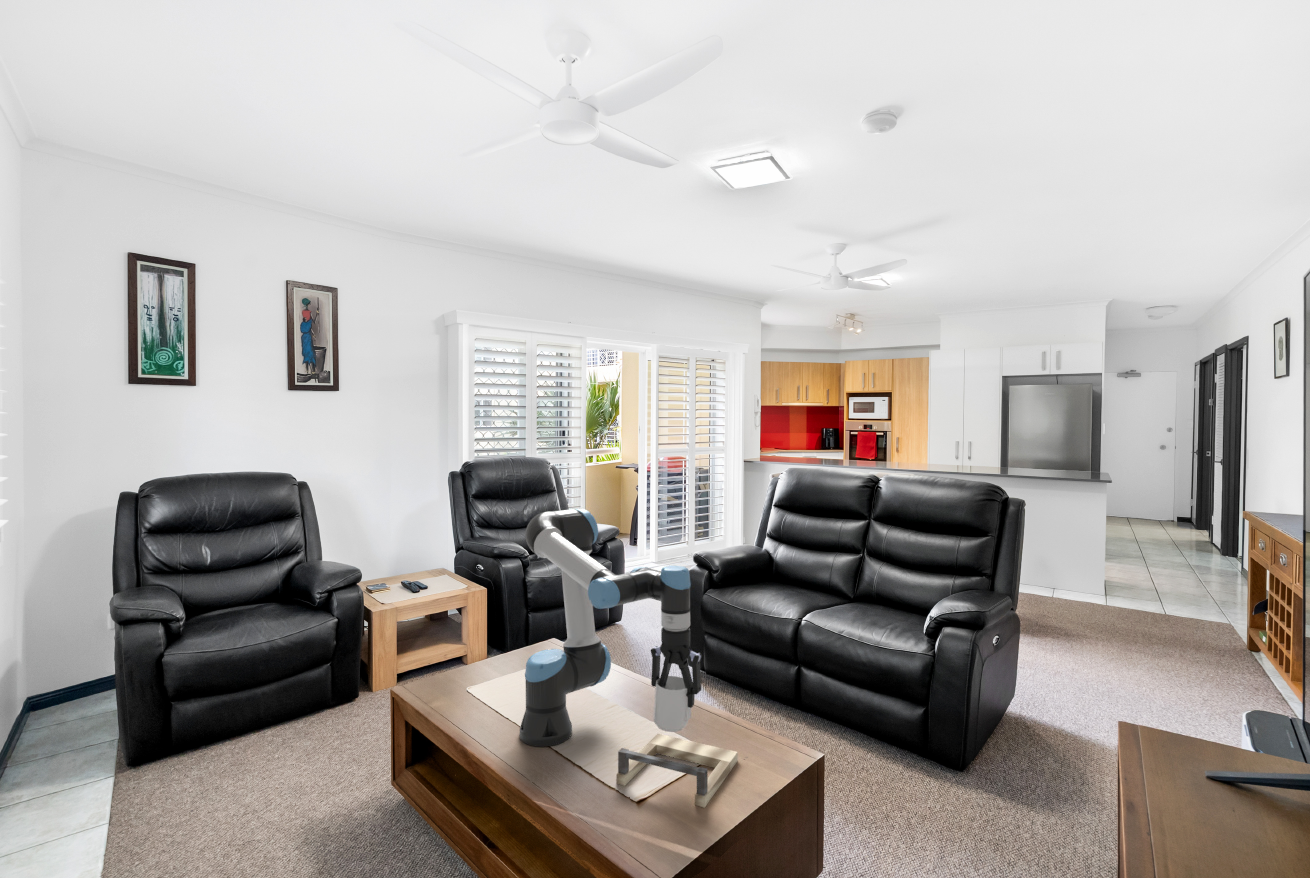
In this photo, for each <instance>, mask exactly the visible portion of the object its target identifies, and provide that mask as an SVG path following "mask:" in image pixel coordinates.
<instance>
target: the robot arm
mask: <svg viewBox="0 0 1310 878" xmlns="http://www.w3.org/2000/svg"><path fill="white" fill-rule="evenodd" d="M598 536H599V527H598V524H597V521H596V519H595V517H594V516H593V514H592V513H591V512H590V511H589V510H588V509H585V508H571V509H562V510H552V511H544V512H543V511H542V512H540V513H538V514H536V515H535V516H534V517H532V519H530V520H529V522H528V524H527V526H526V529H525V540H526V544H527V546H528V547H529V550H531V551H532V553H534V554H535V555H536V556H537V557H539V558H541V559H547V560H548V561H550V562H551V564H552V563H553V564H554V565H555V566H556V567H557V568H559V569H560V570H561V580H562V581H561V582H562V592H563V602H564V614H565V615H564V616H565V624H566V625H565V627H566V634H567V635H566V636H567V638H566V639H565V641H563V643H562V646H563V650H562V649H560V648H551V649H544V650H540V651H537V652H535V653H534V654H532V655H531V656H529V657H528V659H527V661H526V663H525V671H524V672H525V673H524V677H525V711H524V714H523V717H522V720H521V724H520V726H519V739H520V741H521V742H523V744H526V745H529V746H532V747H541V748H542V747H551V746H556V745H559V743H560V744H562V743H564V742H566V741H567V740H569V739H570V738H571V736H572V735H571V734H573V724H572V723H573V722H572V721H571V718H570V715H569V712H568V708H567V695H568V694H571V693H575V692H577V691H580V690H583V689H586V688H589V687H594V686H596V685H598V684H600V683H603V682H604V681H605V680H606V679H607V677H608V676H609V674H610V672H611V665H612V658H611V653H610V651H609V649H608V647H607V646H606V645H605V644H604V643H602V639H601V637H599V635H597V634H596V627H595V617H594V615H595V614H594V608H596V609H599V610H602V609H611V608H614V607H617V606H621V605H625V604H629V603H635V602H638V601H643V600H646V599H647V600H648V599H651V600H656V601H660V605H661V606H660V613H661V615H660V616H661V617H660V619H661V620H660V621H661V623H660V624H661V626H662V627H661V630H660V631H661V632H660V634H661V635H660V639H661V640H660V641H661V644H660V646H657V645H655V646H653V647H652V648H650V654H651V658H652V660H651V661H652V662H651V679H650V680H651V683H650V684H651V686H652V687H653V688H656V681H657V679H659V678H660V680H659V683H658V685H659V686H660V687H662V688H665V686H666V682H667V679H668V676H670V670H671V668H672V665H673V664H674V665H676V666H678V669H679V670H680V673H681V678H683V681H684V684H685V688H687V694H686V696H687V697H686V712H685V721H688V722H689V720H690V719H691V718H692V708H693V707H694V706H695V700H694V694H695V695H698V694H699V693H700V692H701V691H702V677H701V672H702V671H701V659H702V657H703V654H702V653H701V652H698V653H697V652H695V651H693V650H692V647H691V628H690V626H691V585H692V583H691V577H690V576H691V575H690V570H689V568H688V567H686V566H684V565H683V566H682V565H667V566H664V567H662V568H661V571H660V570H657V569H653V568H650V567H647V566H646V567H642V566H637V567H635V568H633V569H632V570H631V571H630V572H626V573H622V574H616V573H614V572H612V571H611V570H610V569H608V568H607V567H605V566H604V565H603V564H602V563H601V562H599V561H597V560H596V559H594V558H593V557H592V556H590V554H591V553H592V552H593V546H592V545H594V544H595V543H596V542H597V539H598ZM661 654H662V655H663V658H664V660H663V664H662V665H663V667H662V670H661ZM689 657H690V661H691V662H692V663H691V670H692V671H691V670H690V668H689V665H690V664H689V660H688V659H689ZM691 673H692V675H691ZM665 689H668V688H667V687H666V688H665ZM570 735H571V736H570ZM569 737H570V738H569ZM568 738H569V739H568ZM565 740H566V741H565Z"/></svg>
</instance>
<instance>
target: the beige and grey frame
mask: <svg viewBox="0 0 1310 878" xmlns="http://www.w3.org/2000/svg"><path fill="white" fill-rule="evenodd" d="M656 753H659V754H658V755H660V754H662V756H664V755H666V757H669V756H670V757H669V758H673V757H674V759H677V760H681V759H682V760H681V761H685V760H687V761H686V762H689V761H691V762H690V763H693V762H695V763H694V764H697V763H699V764H698V765H701V766H706V767H709V768H714V769H713V770H712V771H711V773H710V774H709V773H708V768H705V767H697V766H695V765H694V766H693V765H690V764H686V763H682V762H678V761H673V760H670V759H665V758H662V757H657V756H654V755H657V754H656ZM738 758H739V756H738V751H735V750H731V749H727V748H722V747H718V746H714V745H710V744H704V743H701V742H696V741H692V740H687V739H682V738H680V737H674V736H671V735H666V734H662V733H657V734H655V736H654V737H652V738H651V739H650V740H649V741H648V742H647V743H646V744H645V745H644V746H643V747H642V748H641V749H640V750H639V751H633V750H630V749H627V748H625V747H624V748H620V749H619V750H618V752H617V765H618V766H617V772H616V776H615V778H616V779H615V781H616V784H617V785H620V786H624V787H625V786H626V785H628V783H629V782H630V781H631V780H633V778H635V776H636V775H637V774H638V773H639V772H640V771H641V770H642V769H643V768H644V767H645V766H646V765H650V766H656V767H659V768H662V769H668V770H669V771H670V770H671V771H675V772H680V773H682V774H687V775H690V776H695V777H696V793H694V806H696V807H701V808H704V809H706V806H707V805H708V804H709V802H710V801H711V799H712V798H713V797H714V796H715V794H716V793H717V791H718V790H719V788H720V787H721V785H722V784H723V783H724V781H725V779H726V778H727V777H728V775H729V774H730V773H731V772H732V770H733V768H734V767H735V766H736V764H737V763H738V761H739V760H738ZM645 764H646V765H645ZM708 774H709V775H708Z"/></svg>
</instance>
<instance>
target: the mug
mask: <svg viewBox="0 0 1310 878" xmlns="http://www.w3.org/2000/svg"><path fill="white" fill-rule="evenodd" d="M659 680H660V678H659V679H657V681H656V687H655V691H654V692H655V694H654V707H653V710H654V711H653V722H654V724H655V725H656V727H657V728H658V729H660V730H661V731H664V732H669V733H677V732H681V731H682V730H683V729H685V728H686V726H687V725H688V722H689V720H688V721H685V712H686V697H687V696H686V694H687V688H685V684H684V681H683V677H682V676H681V677H680V676H677V675H668V679H667V682H666V686H665V688H666V687H667V688H668V689H665V688H662V687H660V686H659V685H658V683H659ZM695 699H696V694H694V701H695Z"/></svg>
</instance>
